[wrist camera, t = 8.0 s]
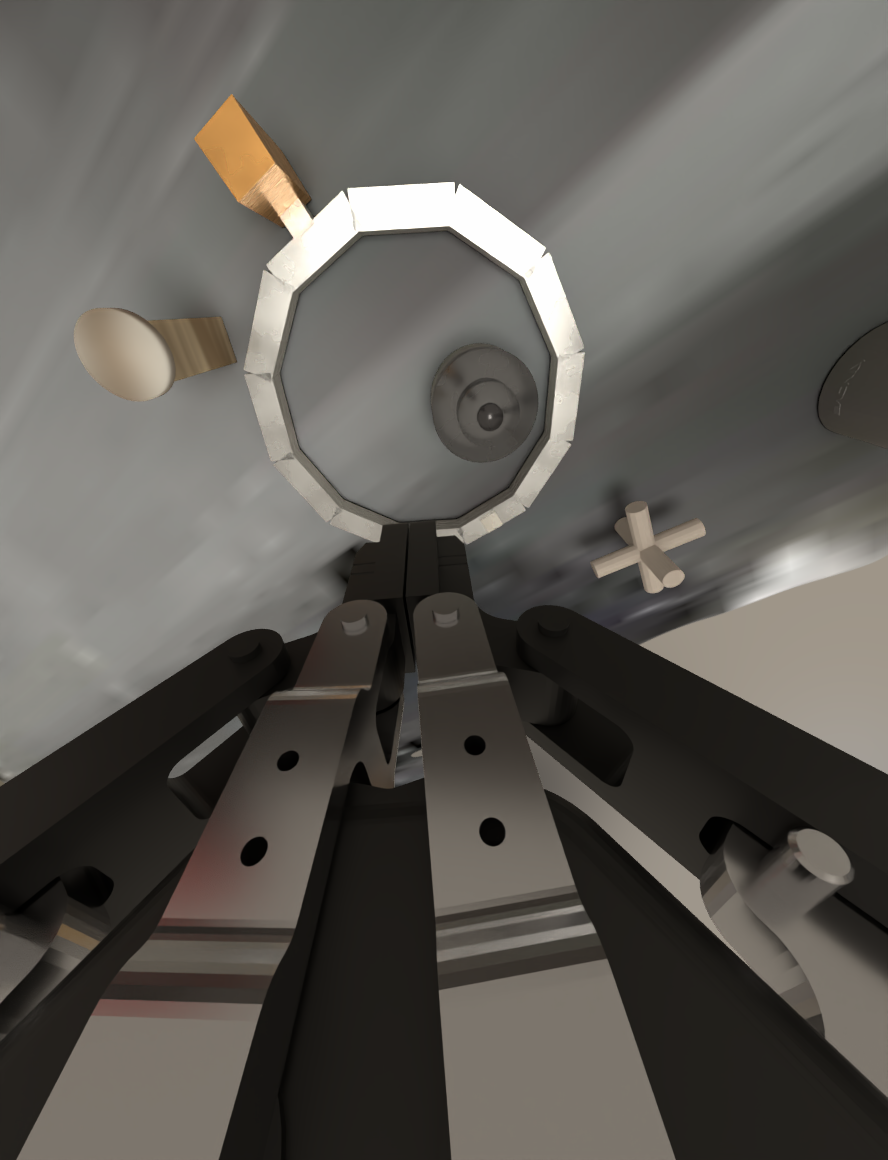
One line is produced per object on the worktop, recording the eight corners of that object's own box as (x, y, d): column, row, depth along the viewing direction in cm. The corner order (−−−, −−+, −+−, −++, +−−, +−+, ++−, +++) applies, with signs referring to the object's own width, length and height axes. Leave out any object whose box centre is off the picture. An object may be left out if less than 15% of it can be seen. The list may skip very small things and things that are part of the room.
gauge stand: (226, 304, 29) (139, 303, 20) (249, 371, 31) (181, 397, 22) (167, 310, 29) (54, 313, 20) (195, 376, 31) (105, 405, 22)
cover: (525, 338, 31) (551, 345, 25) (521, 440, 36) (543, 468, 30) (425, 348, 31) (427, 358, 25) (435, 448, 36) (439, 478, 30)
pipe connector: (588, 577, 45) (626, 637, 37) (564, 507, 40) (602, 559, 32) (677, 541, 43) (738, 597, 35) (664, 462, 38) (732, 505, 29)
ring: (437, -17, 21) (446, -161, 15) (614, 446, 36) (657, 478, 30) (139, 303, 28) (55, 302, 22) (390, 579, 43) (385, 627, 37)
